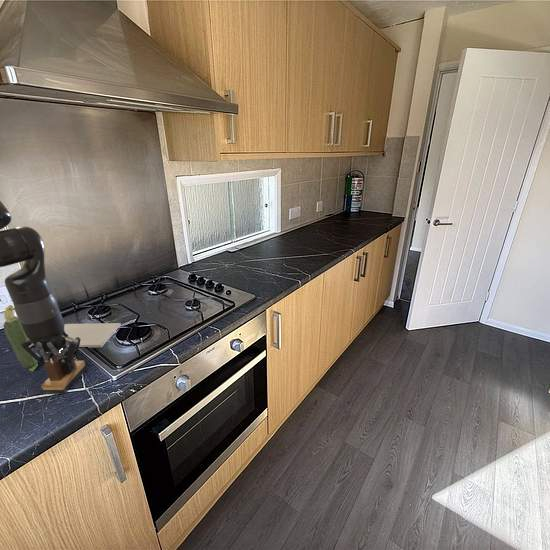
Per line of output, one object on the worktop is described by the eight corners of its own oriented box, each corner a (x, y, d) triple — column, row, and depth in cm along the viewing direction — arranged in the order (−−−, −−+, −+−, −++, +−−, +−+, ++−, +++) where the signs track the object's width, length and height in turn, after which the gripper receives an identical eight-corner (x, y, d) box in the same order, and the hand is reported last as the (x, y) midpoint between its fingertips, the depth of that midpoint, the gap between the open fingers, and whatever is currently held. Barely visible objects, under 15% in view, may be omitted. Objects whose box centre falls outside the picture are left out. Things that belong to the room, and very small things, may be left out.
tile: (37, 348, 90) (36, 345, 89) (64, 326, 101) (63, 323, 100) (101, 347, 89) (100, 344, 88) (121, 325, 100) (120, 323, 99)
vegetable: (19, 373, 79) (-12, 309, 71) (33, 362, 83) (5, 301, 75) (33, 374, 79) (4, 310, 71) (47, 363, 83) (20, 301, 75)
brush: (64, 394, 72) (54, 369, 69) (45, 394, 72) (33, 369, 69) (87, 369, 80) (78, 345, 77) (69, 369, 80) (60, 345, 77)
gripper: (79, 305, 71) (98, 362, 78) (23, 306, 72) (47, 362, 79) (57, 322, 64) (80, 382, 71) (-4, 323, 65) (25, 383, 72)
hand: (63, 371), depth 75 cm, fingers closed on brush, 2 cm apart
